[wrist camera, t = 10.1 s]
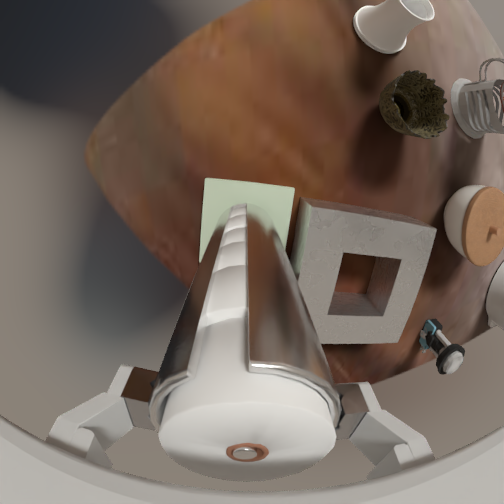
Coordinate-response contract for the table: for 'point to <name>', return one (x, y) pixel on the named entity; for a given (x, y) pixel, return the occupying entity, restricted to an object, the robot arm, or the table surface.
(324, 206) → the bore block
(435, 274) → the table surface
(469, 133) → the french press
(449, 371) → the push button
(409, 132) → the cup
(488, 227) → the lidded jar
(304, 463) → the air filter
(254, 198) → the pad
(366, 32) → the vase
